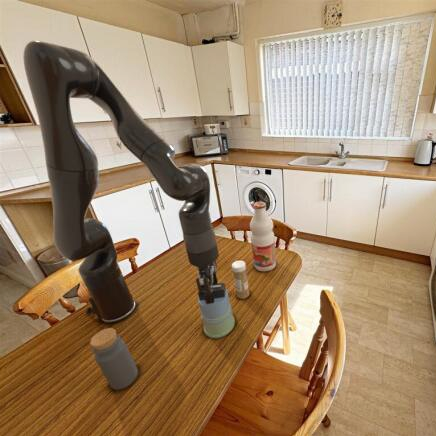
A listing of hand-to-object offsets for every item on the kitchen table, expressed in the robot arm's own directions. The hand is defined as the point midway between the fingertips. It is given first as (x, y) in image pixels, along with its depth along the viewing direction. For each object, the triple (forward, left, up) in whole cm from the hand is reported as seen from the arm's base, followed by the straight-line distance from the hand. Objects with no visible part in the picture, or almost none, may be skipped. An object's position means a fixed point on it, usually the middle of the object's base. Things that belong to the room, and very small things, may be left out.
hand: (212, 292), depth 68 cm
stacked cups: (0, 0, -13) cm, 13 cm away
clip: (0, 0, -1) cm, 1 cm away
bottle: (-22, -12, -13) cm, 28 cm away
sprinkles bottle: (+7, +12, -13) cm, 19 cm away
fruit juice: (+16, +28, -13) cm, 35 cm away
